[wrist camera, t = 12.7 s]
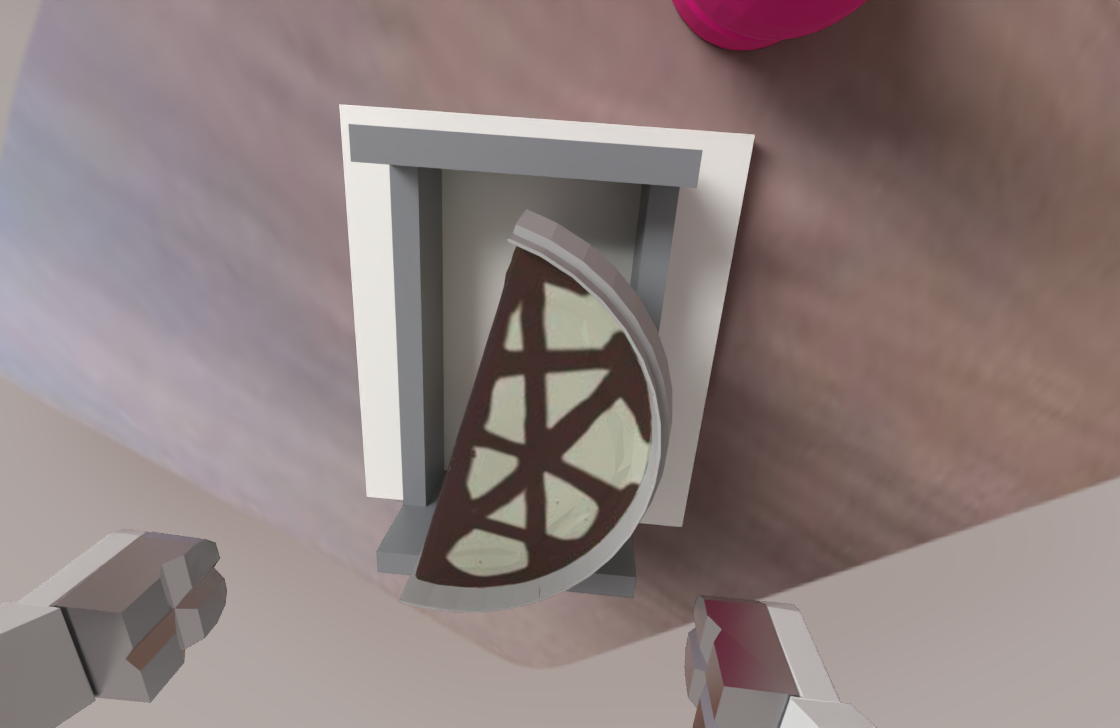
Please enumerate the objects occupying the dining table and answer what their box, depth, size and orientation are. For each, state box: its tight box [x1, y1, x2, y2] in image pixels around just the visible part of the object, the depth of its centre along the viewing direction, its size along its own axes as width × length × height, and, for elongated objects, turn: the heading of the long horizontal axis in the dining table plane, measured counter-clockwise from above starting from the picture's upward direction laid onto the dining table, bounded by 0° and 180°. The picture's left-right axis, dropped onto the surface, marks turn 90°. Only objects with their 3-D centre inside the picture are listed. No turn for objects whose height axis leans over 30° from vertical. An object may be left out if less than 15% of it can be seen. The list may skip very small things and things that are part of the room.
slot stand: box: [339, 104, 755, 598], centre depth 20 cm, size 16×18×7 cm
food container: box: [399, 209, 673, 612], centre depth 18 cm, size 12×6×10 cm, turn 161°
